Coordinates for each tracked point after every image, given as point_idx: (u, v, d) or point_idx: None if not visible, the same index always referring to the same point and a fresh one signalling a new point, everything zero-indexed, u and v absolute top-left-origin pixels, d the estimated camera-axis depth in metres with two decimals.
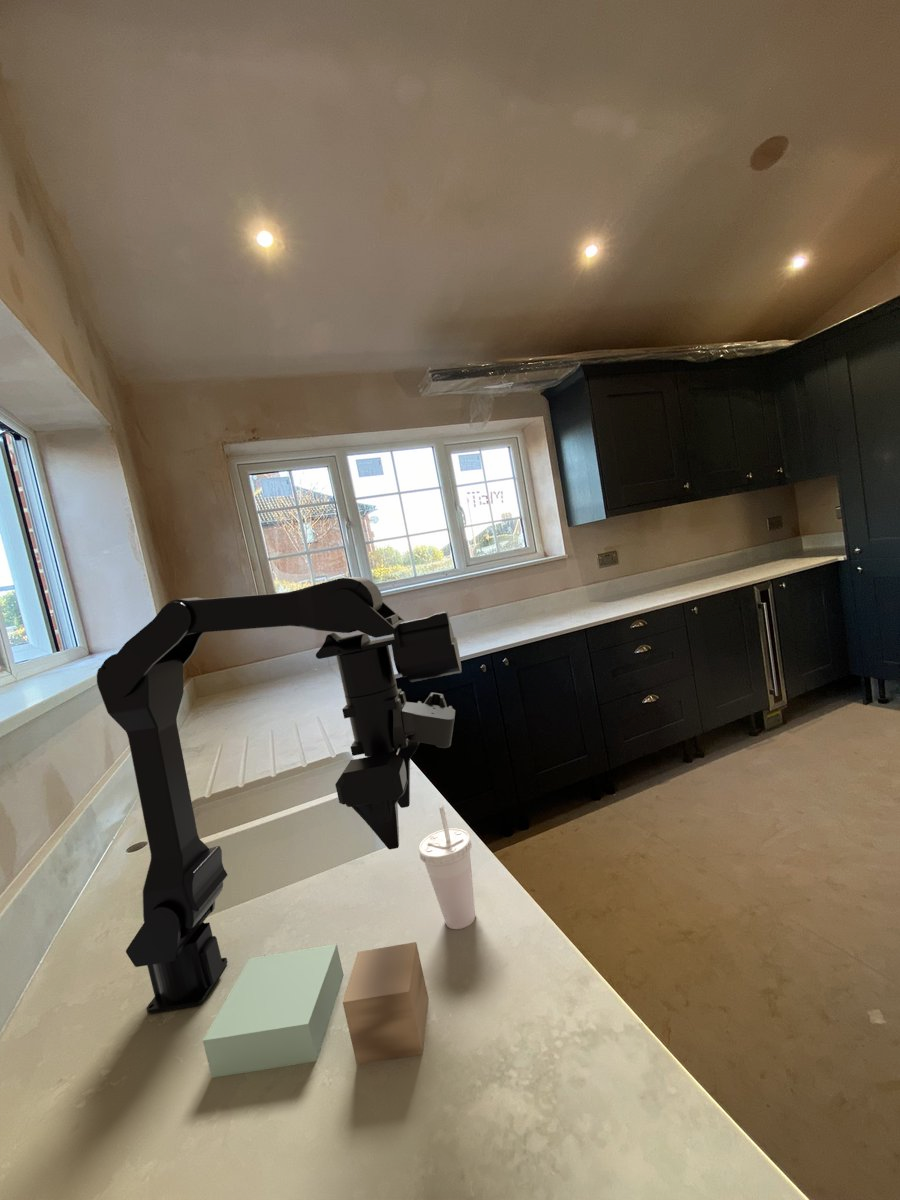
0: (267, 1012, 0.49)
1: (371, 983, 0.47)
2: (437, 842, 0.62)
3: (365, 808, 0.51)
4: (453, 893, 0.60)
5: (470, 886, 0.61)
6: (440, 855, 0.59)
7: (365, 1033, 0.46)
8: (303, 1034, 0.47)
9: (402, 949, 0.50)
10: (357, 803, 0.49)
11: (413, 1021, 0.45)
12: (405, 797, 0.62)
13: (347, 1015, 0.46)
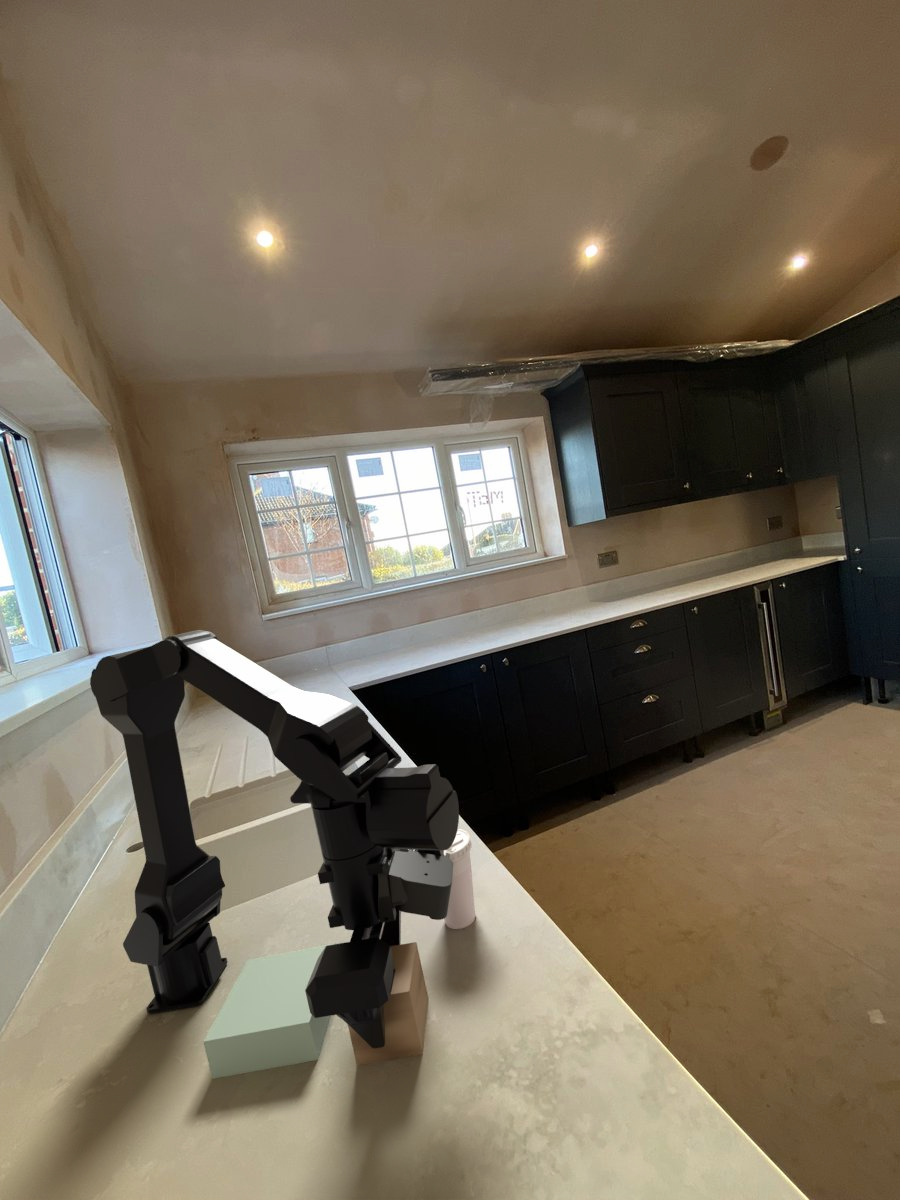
0: (268, 1012, 0.49)
1: None
2: None
3: None
4: (453, 893, 0.60)
5: (470, 886, 0.61)
6: None
7: None
8: (304, 1032, 0.47)
9: (402, 949, 0.50)
10: None
11: (413, 1021, 0.45)
12: None
13: None
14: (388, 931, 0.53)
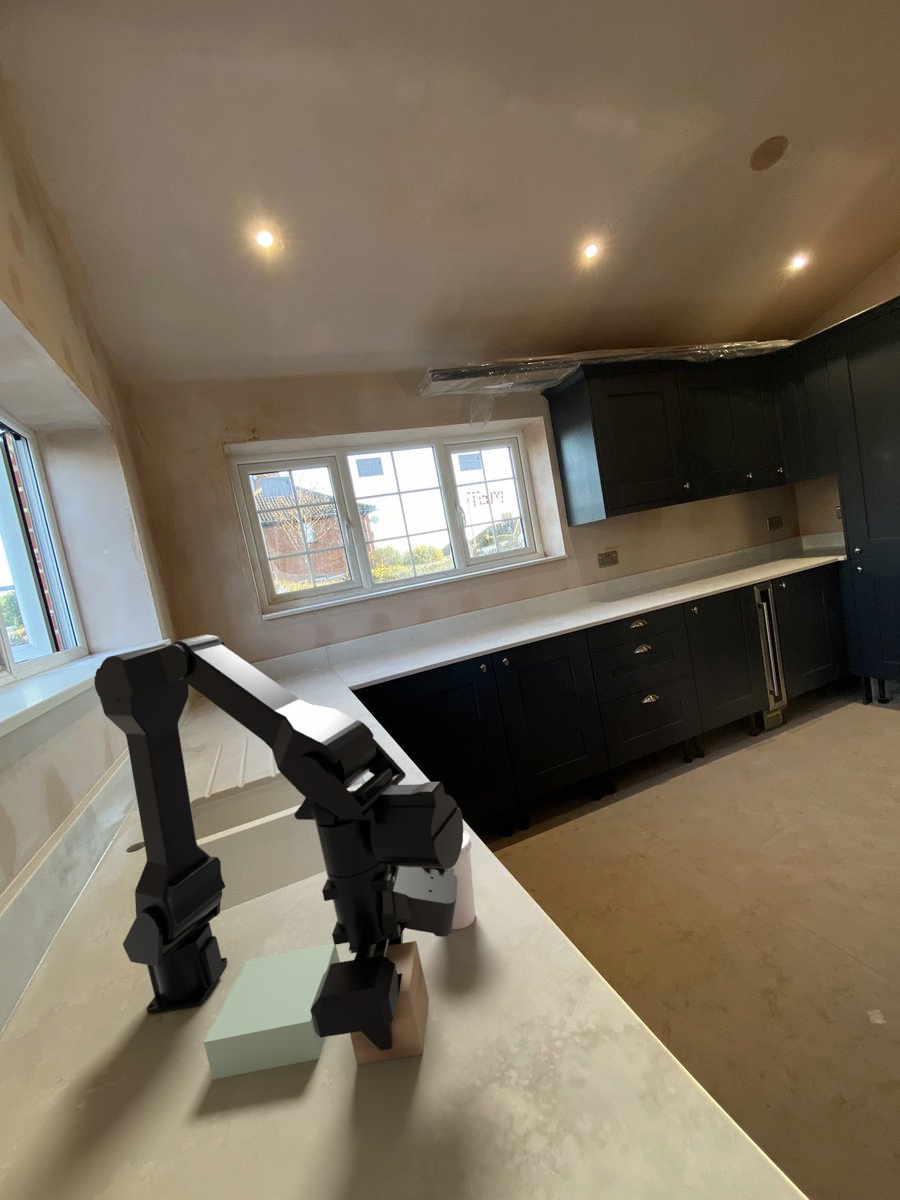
0: (268, 1012, 0.49)
1: None
2: None
3: None
4: None
5: (470, 886, 0.61)
6: None
7: None
8: (305, 1031, 0.47)
9: (402, 948, 0.50)
10: None
11: (413, 1020, 0.45)
12: None
13: None
14: None
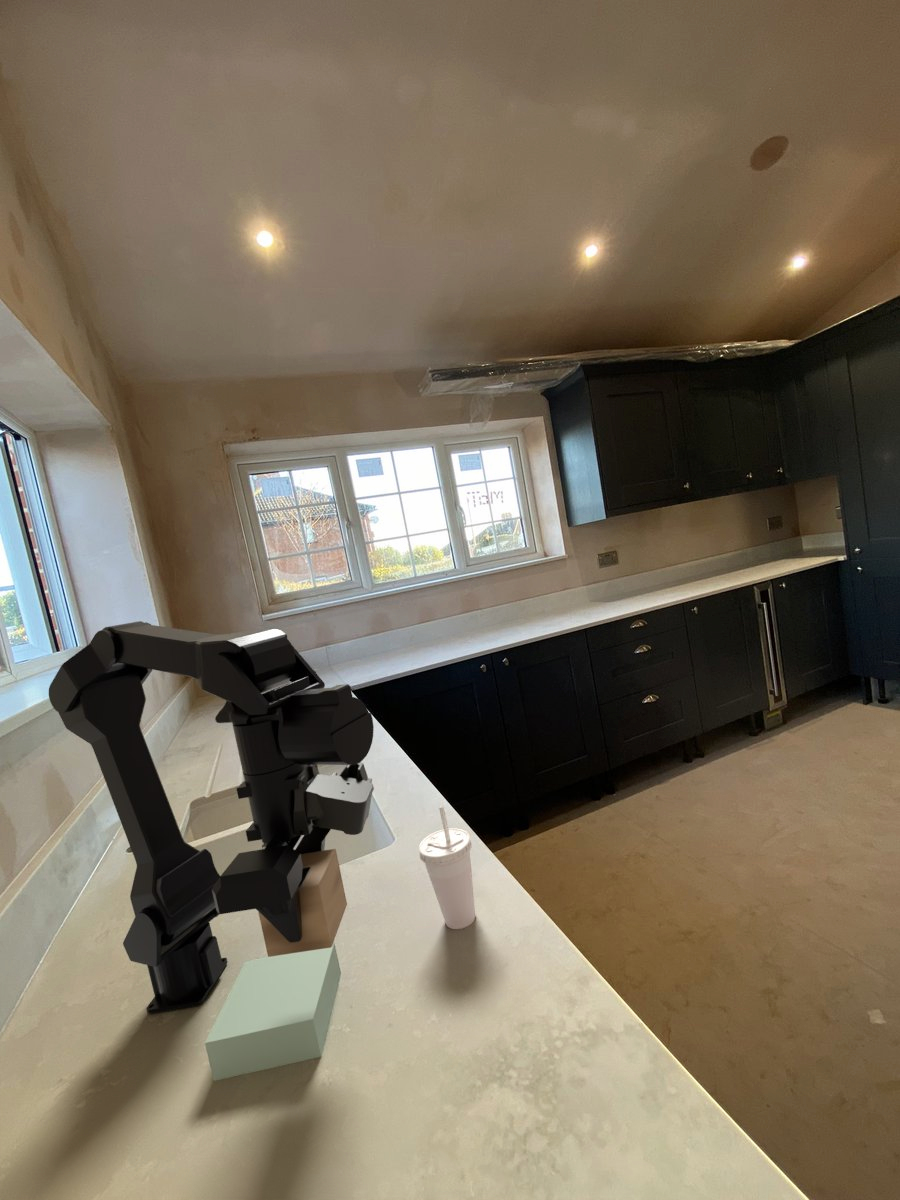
0: (270, 1011, 0.49)
1: None
2: (437, 842, 0.62)
3: None
4: (453, 893, 0.60)
5: (470, 886, 0.61)
6: (440, 855, 0.59)
7: None
8: (308, 1030, 0.47)
9: (321, 854, 0.52)
10: None
11: (323, 914, 0.47)
12: None
13: None
14: None
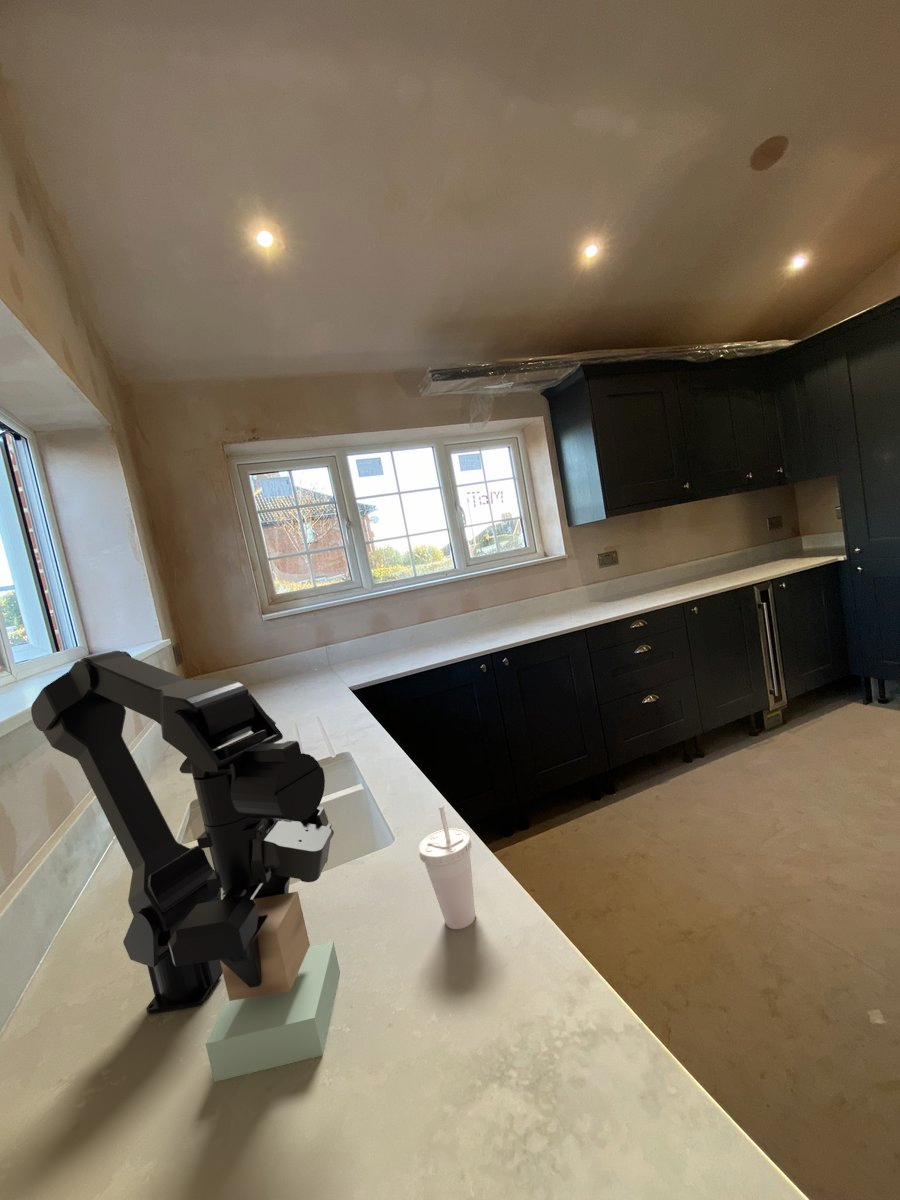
0: (270, 1011, 0.49)
1: None
2: (437, 842, 0.62)
3: None
4: (453, 893, 0.60)
5: (470, 886, 0.61)
6: (440, 855, 0.59)
7: None
8: (309, 1028, 0.47)
9: (283, 897, 0.54)
10: None
11: (281, 959, 0.49)
12: None
13: None
14: None
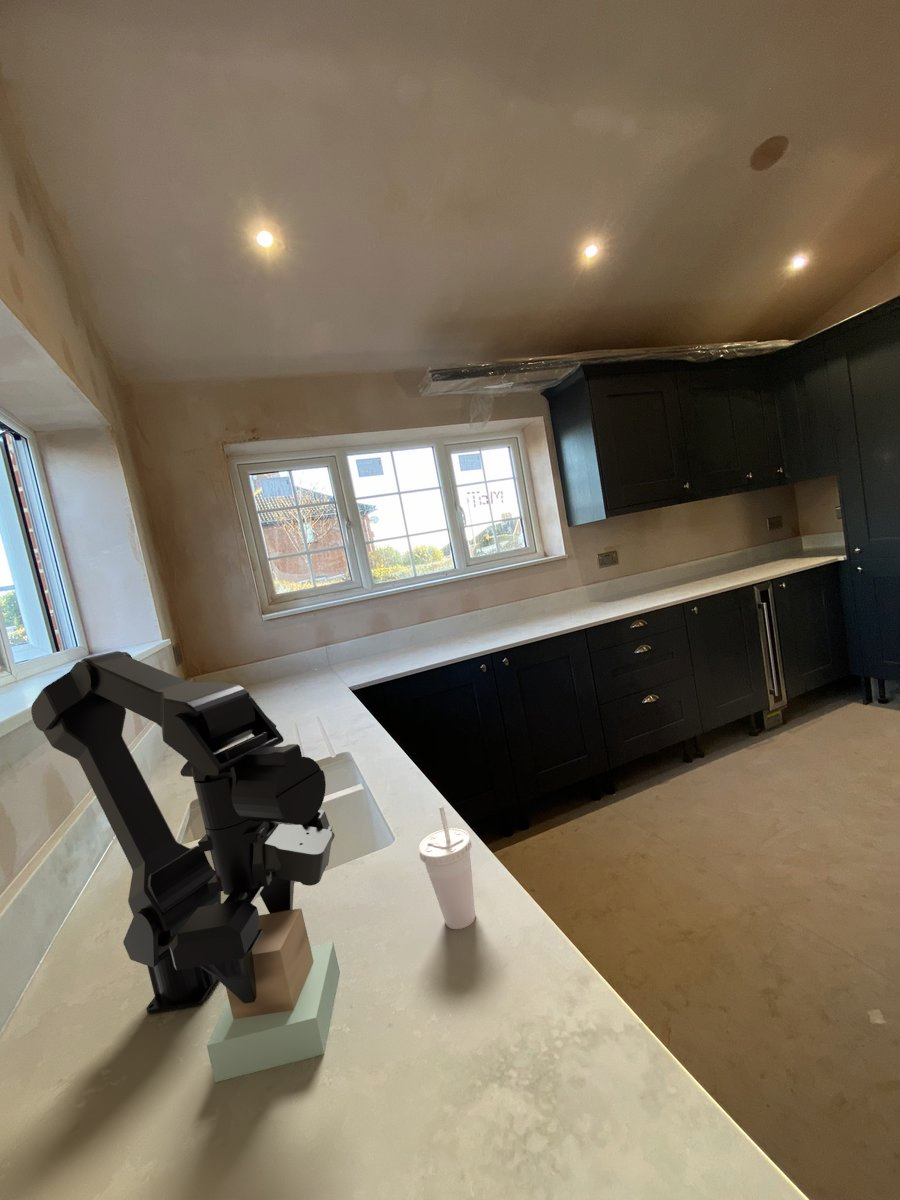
0: None
1: None
2: (437, 842, 0.62)
3: None
4: (453, 893, 0.60)
5: (470, 886, 0.61)
6: (440, 855, 0.59)
7: None
8: (311, 1028, 0.47)
9: (287, 914, 0.54)
10: None
11: (284, 978, 0.49)
12: None
13: None
14: (280, 900, 0.56)
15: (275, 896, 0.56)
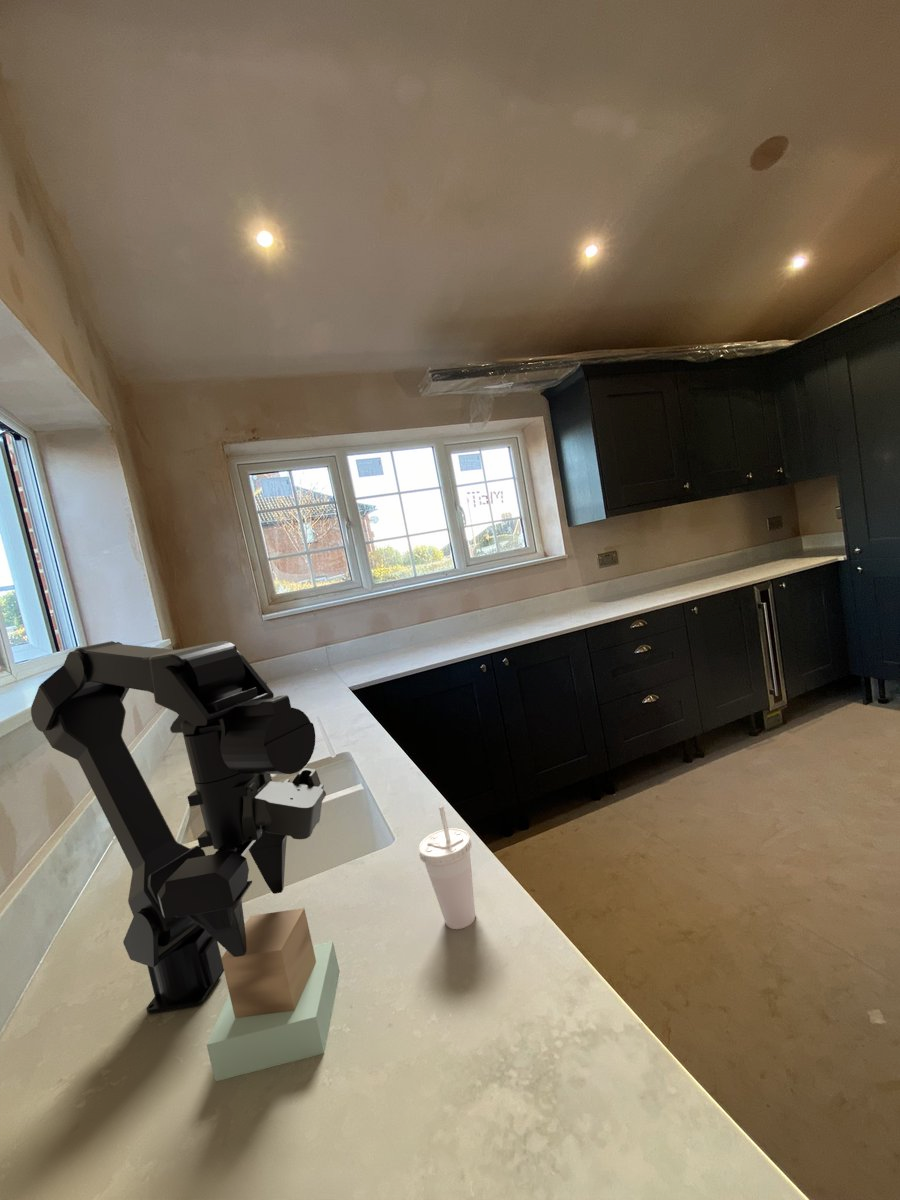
0: None
1: (251, 942, 0.50)
2: (437, 842, 0.62)
3: (201, 915, 0.45)
4: (453, 893, 0.60)
5: (470, 886, 0.61)
6: (440, 855, 0.59)
7: (242, 988, 0.49)
8: (311, 1027, 0.47)
9: (289, 914, 0.54)
10: (185, 913, 0.43)
11: (285, 978, 0.49)
12: (277, 882, 0.56)
13: (225, 970, 0.49)
14: (271, 861, 0.56)
15: (267, 857, 0.56)
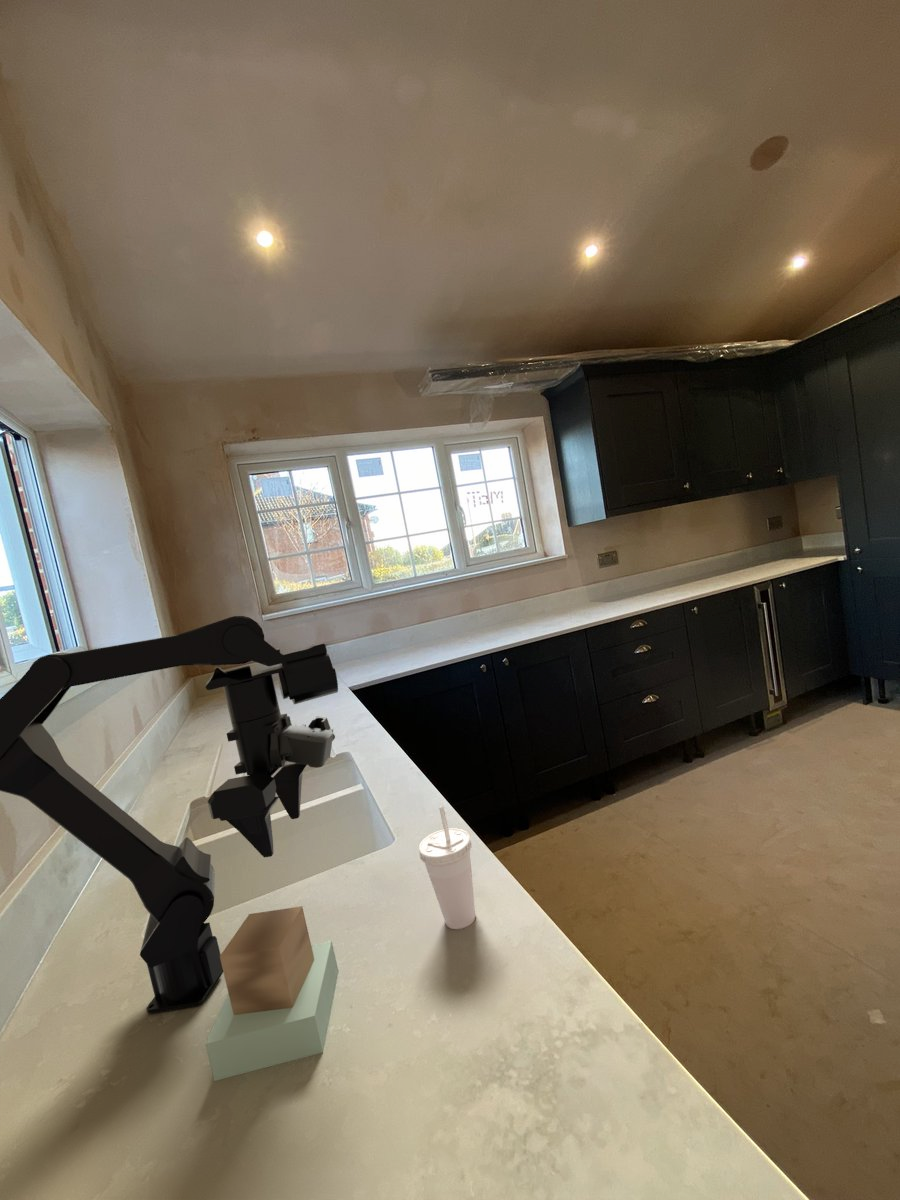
0: (270, 1010, 0.49)
1: (250, 940, 0.51)
2: (437, 842, 0.62)
3: (239, 821, 0.58)
4: (453, 893, 0.60)
5: (470, 886, 0.61)
6: (440, 855, 0.59)
7: (240, 985, 0.49)
8: (309, 1026, 0.48)
9: (287, 912, 0.54)
10: (228, 817, 0.56)
11: (283, 975, 0.49)
12: (295, 809, 0.69)
13: (224, 968, 0.49)
14: (290, 792, 0.69)
15: (286, 789, 0.69)
